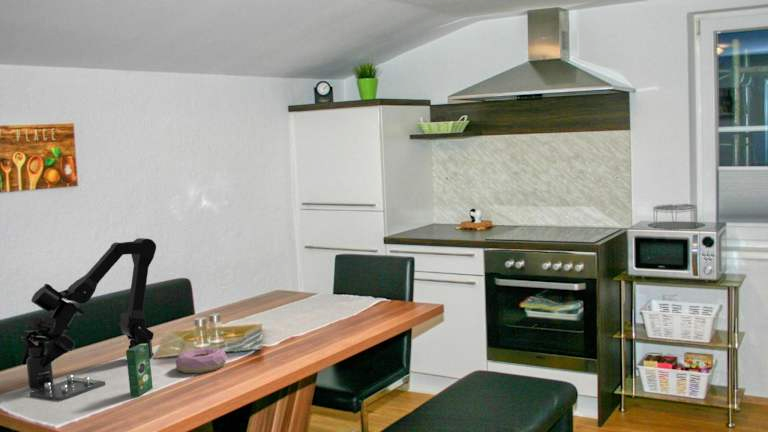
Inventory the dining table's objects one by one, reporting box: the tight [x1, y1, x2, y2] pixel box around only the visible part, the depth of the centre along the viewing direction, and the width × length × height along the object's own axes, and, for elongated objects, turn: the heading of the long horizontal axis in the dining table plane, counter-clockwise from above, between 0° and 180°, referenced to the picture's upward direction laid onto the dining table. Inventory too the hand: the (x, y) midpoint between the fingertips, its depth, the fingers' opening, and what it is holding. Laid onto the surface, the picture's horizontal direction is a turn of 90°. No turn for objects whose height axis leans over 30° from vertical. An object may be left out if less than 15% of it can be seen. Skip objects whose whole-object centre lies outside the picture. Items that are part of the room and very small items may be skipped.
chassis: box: [29, 374, 106, 402], centre depth 230 cm, size 15×14×3 cm
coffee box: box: [125, 344, 154, 398], centre depth 222 cm, size 8×3×13 cm, turn 168°
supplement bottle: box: [25, 344, 54, 390], centre depth 237 cm, size 7×7×12 cm
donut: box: [175, 347, 228, 374], centre depth 243 cm, size 16×15×5 cm
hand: (32, 365), depth 235 cm, fingers open, 9 cm apart
